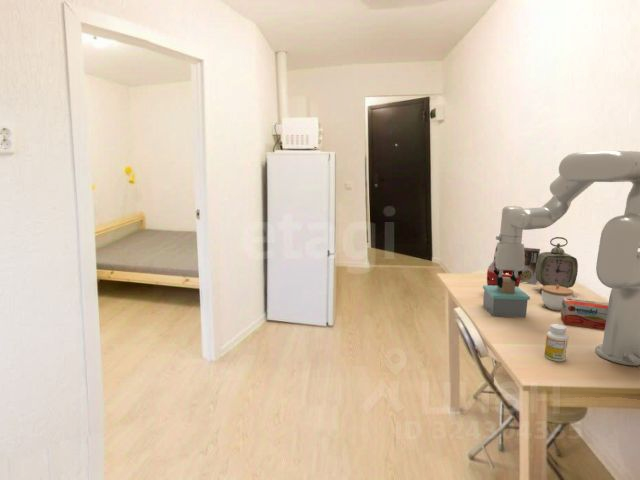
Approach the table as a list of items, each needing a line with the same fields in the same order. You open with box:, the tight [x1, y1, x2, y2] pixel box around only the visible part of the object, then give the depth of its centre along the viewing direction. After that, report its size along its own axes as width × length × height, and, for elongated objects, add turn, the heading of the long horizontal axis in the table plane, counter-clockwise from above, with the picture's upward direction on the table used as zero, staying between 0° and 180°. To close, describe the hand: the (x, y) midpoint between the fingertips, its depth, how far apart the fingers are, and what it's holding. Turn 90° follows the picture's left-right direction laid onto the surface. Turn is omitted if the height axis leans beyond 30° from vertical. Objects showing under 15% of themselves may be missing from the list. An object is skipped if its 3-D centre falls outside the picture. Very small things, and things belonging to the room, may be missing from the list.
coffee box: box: [520, 247, 541, 285], centre depth 204 cm, size 9×6×16 cm
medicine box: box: [560, 298, 609, 331], centre depth 151 cm, size 15×8×8 cm, turn 69°
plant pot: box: [486, 267, 521, 288], centre depth 179 cm, size 13×13×12 cm
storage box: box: [482, 289, 529, 318], centre depth 163 cm, size 12×12×7 cm
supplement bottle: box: [544, 323, 569, 362], centre depth 124 cm, size 5×5×10 cm
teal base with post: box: [482, 277, 531, 301], centre depth 161 cm, size 13×13×7 cm
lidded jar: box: [541, 285, 574, 311], centre depth 167 cm, size 11×11×9 cm
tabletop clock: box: [536, 236, 579, 294], centre depth 186 cm, size 14×9×25 cm, turn 80°
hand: (505, 286), depth 161 cm, fingers closed on teal base with post, 4 cm apart
